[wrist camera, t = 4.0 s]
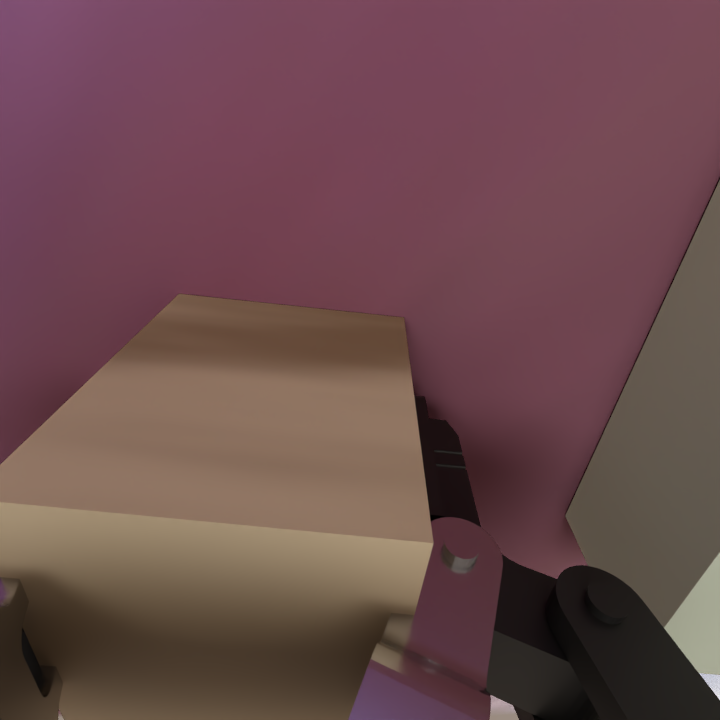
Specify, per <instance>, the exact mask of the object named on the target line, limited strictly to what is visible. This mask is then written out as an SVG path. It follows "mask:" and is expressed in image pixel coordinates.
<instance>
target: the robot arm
mask: <svg viewBox="0 0 720 720" xmlns="http://www.w3.org/2000/svg"><path fill="white" fill-rule="evenodd" d="M414 398H415V405H416V413H417V421H418V428H419V436H420V444H421V451H422V459H423V467H424V474H425V482H426V489H427V497H428V505H429V512H430V520H431V528H432V535H433V547H432V551H431V555H430V558H429V562H428V566H427V570H426V573H425V577H424V581H423V584H422V588H421V592H420V596H419V599H418V603H417V607H416V611H415V614H414V615H409V614H398V613H391V615H390V617H389V620H388V623H387V626H386V629H385V631H384V634H383V636H382V639H381V640H379V641H378V643H377V645H376V647H375V649H374V652H373V654H372V657H371V659H370V662H369V665H368V667H367V670H366V673H365V675H364V678H363V681H362V684H361V686H360V689H359V692H358V694H357V697H356V700H355V703H354V705H353V708H352V711H351V714H350V716H349V719H348V720H489V719H490V706H491V698H490V695H492V696H495V697H497V698H499V699H501V700H503V701H505V702H507V703H510V704H512V705H513V706H514V709H515V711H516V713H517V715H518V718H519V720H720V700H719V699H718V698H717V696H716V695H715V694H714V692H713V691H712V690H711V688H710V687H709V686H708V685H707V683H706V682H705V681H704V679H703V678H702V677H701V675H700V674H699V673H698V672H697V670H696V669H695V668H694V666H693V665H692V664H691V662H690V661H689V660H688V659H687V657H686V656H685V655H684V653H683V652H682V651H681V649H680V648H679V647H678V646H677V644H676V643H675V642H674V640H673V639H672V638H671V636H670V635H669V634H668V633H667V631H666V630H665V629H664V627H663V626H662V625H661V624H660V622H659V621H658V620H657V618H656V617H655V616H654V614H653V613H652V612H651V611H650V609H649V608H648V607H647V605H646V604H645V603H644V601H643V600H642V599H641V598H640V597H639V595H638V594H637V593H636V592H635V591H634V590H633V589H632V588H631V587H630V586H628V585H627V584H626V583H625V582H623V581H622V580H620V579H619V578H617V577H616V576H614V575H612V574H610V573H608V572H606V571H604V570H601V569H599V568H595V567H591V566H584V565H580V566H573V567H569V568H567V569H565V570H564V571H563V572H562V573H561V574H560V575H559V577H558V579H555V578H552V577H550V576H547V575H545V574H542V573H539V572H537V571H534V570H531V569H529V568H526V567H524V566H521V565H519V564H517V563H515V562H513V561H511V560H510V559H508V558H507V557H505V556H504V555H502V554H501V551H500V549H499V547H498V545H497V543H496V542H495V541H494V539H493V538H492V537H491V536H490V535H489V534H488V533H487V532H486V531H485V530H484V529H482V528H481V525H480V522H479V518H478V514H477V510H476V506H475V502H474V498H473V494H472V490H471V486H470V482H469V478H468V474H467V470H465V467H466V466H465V462H464V458H463V456H462V450H461V445H460V441H459V437H458V435H457V434H456V432H455V431H454V430H453V429H452V428H451V426H450V425H449V424H448V423H447V422H446V420H437V419H429V418H428V412H427V406H426V400H425V397H423V396H414ZM28 604H29V600H28V598H27V595H26V593H25V591H24V588H23V586H22V583H21V581H20V579H16V578H5V577H0V720H58V710H59V702H60V696H61V691H62V686H63V682H62V679H61V677H60V675H59V672H58V670H57V667H56V666H45V665H39V663H38V661H37V658H36V656H35V654H34V652H33V650H32V647H31V645H30V643H29V641H28V638H27V636H26V634H25V632H24V630H23V622H24V618H25V614H26V611H27V607H28Z"/></svg>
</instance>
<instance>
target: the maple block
mask: <svg viewBox="0 0 720 720" xmlns="http://www.w3.org/2000/svg"><path fill="white" fill-rule="evenodd" d="M432 547H433V535H432V528H431V520H430V512H429V505H428V497H427V489H426V482H425V474H424V467H423V459H422V451H421V444H420V436H419V428H418V421H417V413H416V405H415V398H414V390H413V383H412V375H411V367H410V360H409V352H408V344H407V337H406V329H405V321H404V318H403V317H394V316H385V315H375V314H366V313H356V312H347V311H337V310H328V309H318V308H309V307H299V306H290V305H280V304H271V303H261V302H252V301H243V300H233V299H224V298H214V297H205V296H195V295H186V294H178V295H177V296H176V297H175V298H174V299H173V300H172V301H171V302H170V303H169V304H168V305H167V306H166V307H165V308H164V309H163V310H162V311H161V312H160V313H158V314H157V315H156V316H155V317H154V318H153V319H152V320H151V321H150V322H149V323H148V324H147V325H146V326H145V327H144V328H143V329H142V330H141V331H140V332H139V333H138V334H136V335H135V336H134V337H133V338H132V339H131V340H130V341H129V342H128V343H127V344H126V345H125V346H124V347H123V348H122V349H121V350H120V351H119V352H118V353H117V354H116V355H115V356H113V357H112V358H111V359H110V360H109V361H108V362H107V363H106V364H105V365H104V366H103V367H102V368H101V369H100V370H99V371H98V372H97V373H96V374H95V375H94V376H93V377H91V378H90V379H89V380H88V381H87V382H86V383H85V384H84V385H83V386H82V387H81V388H80V389H79V390H78V391H77V392H76V393H75V394H74V395H73V396H72V397H71V398H69V399H68V400H67V401H66V402H65V403H64V404H63V405H62V406H61V407H60V408H59V409H58V410H57V411H56V412H55V413H54V414H53V415H52V416H51V417H50V418H49V419H48V420H46V421H45V422H44V423H43V424H42V425H41V426H40V427H39V428H38V429H37V430H36V431H35V432H34V433H33V434H32V435H31V436H30V437H29V438H28V439H27V440H26V441H24V442H23V443H22V444H21V445H20V446H19V447H18V448H17V449H16V450H15V451H14V452H13V453H12V454H11V455H10V456H9V457H8V458H7V459H6V460H5V461H4V462H3V463H1V464H0V577H5V578H16V579H20V581H21V583H22V586H23V588H24V591H25V593H26V595H27V598H28V600H29V604H28V607H27V611H26V614H25V618H24V622H23V630H24V632H25V634H26V636H27V638H28V641H29V643H30V645H31V647H32V650H33V652H34V654H35V656H36V658H37V661H38V663H39V665H45V666H56V667H57V670H58V672H59V675H60V677H61V679H62V682H63V686H62V691H61V696H60V702H59V709H60V712H61V714H62V716H63V718H64V720H348V719H349V716H350V714H351V711H352V708H353V705H354V703H355V700H356V697H357V694H358V692H359V689H360V686H361V684H362V681H363V678H364V675H365V673H366V670H367V667H368V665H369V662H370V659H371V657H372V654H373V652H374V649H375V647H376V645H377V643H378V641H379V640H381V639H382V636H383V634H384V631H385V629H386V626H387V623H388V620H389V617H390V615H391V613H398V614H409V615H414V614H415V611H416V607H417V603H418V599H419V596H420V592H421V588H422V584H423V581H424V577H425V573H426V570H427V566H428V562H429V558H430V555H431V551H432Z"/></svg>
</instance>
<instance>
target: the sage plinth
mask: <svg viewBox="0 0 720 720" xmlns="http://www.w3.org/2000/svg"><path fill="white" fill-rule="evenodd" d="M565 517H566V519H567V521H568V523H569V525H570V527H571V530H572V532H573V534H574V536H575V538H576V540H577V543H578V545H579V547H580V549H581V551H582V553H583V556H584V558H585V560H586V562H587V564H588V566H591V567H595V568H599V569H601V570H604V571H606V572H608V573H610V574H612V575H614V576H616V577H617V578H619V579H620V580H622V581H623V582H625V583H626V584H627V585H628V586H630V587H631V588H632V589H633V590H634V591H635V592H636V593H637V594H638V595H639V597H640V598H641V599H642V600H643V601H644V603H645V604H646V605H647V607H648V608H649V609H650V611H651V612H652V613H653V614H654V616H655V617H656V618H657V620H658V621H659V622H660V624H661V625H662V626H663V627H664V629H665V630H666V631H667V633H668V634H669V635H670V636H671V638H672V639H673V640H674V642H675V643H676V644H677V646H678V647H679V648H680V649H681V651H682V652H683V653H684V655H685V656H686V657H687V659H688V660H689V661H690V662H691V664H692V665H693V666H694V668H695V669H696V670H697V672H698V673H705V674H716V675H720V180H719V183H718V185H717V187H716V189H715V191H714V193H713V196H712V198H711V200H710V202H709V204H708V207H707V209H706V211H705V213H704V215H703V217H702V220H701V222H700V224H699V226H698V228H697V230H696V233H695V235H694V237H693V239H692V241H691V243H690V246H689V248H688V250H687V252H686V254H685V257H684V259H683V261H682V263H681V265H680V267H679V270H678V272H677V274H676V276H675V278H674V280H673V283H672V285H671V287H670V289H669V291H668V293H667V296H666V298H665V300H664V302H663V304H662V307H661V309H660V311H659V313H658V315H657V317H656V320H655V322H654V324H653V326H652V328H651V330H650V333H649V335H648V337H647V339H646V341H645V343H644V346H643V348H642V350H641V352H640V354H639V357H638V359H637V361H636V363H635V365H634V367H633V370H632V372H631V374H630V376H629V378H628V380H627V383H626V385H625V387H624V389H623V391H622V393H621V396H620V398H619V400H618V402H617V404H616V407H615V409H614V411H613V413H612V415H611V417H610V420H609V422H608V424H607V426H606V428H605V430H604V433H603V435H602V437H601V439H600V441H599V443H598V446H597V448H596V450H595V452H594V454H593V457H592V459H591V461H590V463H589V465H588V467H587V470H586V472H585V474H584V476H583V478H582V480H581V483H580V485H579V487H578V489H577V491H576V493H575V496H574V498H573V500H572V502H571V504H570V507H569V509H568V511H567V513H566V515H565Z"/></svg>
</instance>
